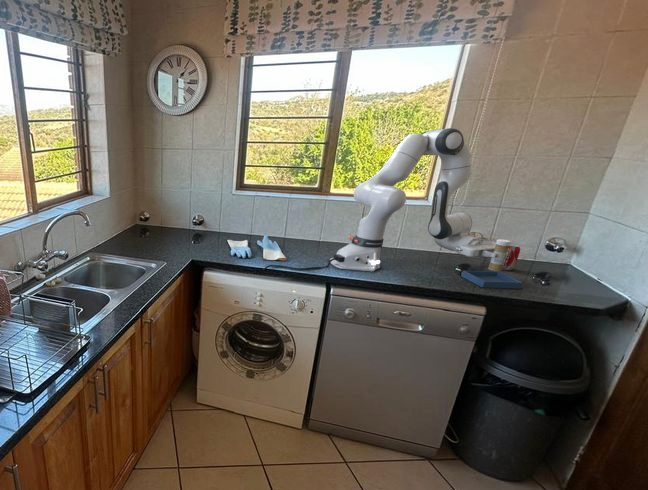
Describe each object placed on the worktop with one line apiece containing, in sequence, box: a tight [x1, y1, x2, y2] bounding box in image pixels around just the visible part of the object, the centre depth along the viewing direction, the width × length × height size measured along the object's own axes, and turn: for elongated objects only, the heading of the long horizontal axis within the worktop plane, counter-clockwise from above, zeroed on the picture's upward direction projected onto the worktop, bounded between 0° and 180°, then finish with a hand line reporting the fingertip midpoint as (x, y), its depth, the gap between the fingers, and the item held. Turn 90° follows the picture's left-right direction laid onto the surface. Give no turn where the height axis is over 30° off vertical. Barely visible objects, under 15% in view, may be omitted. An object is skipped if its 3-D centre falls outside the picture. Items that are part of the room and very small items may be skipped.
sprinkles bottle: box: [487, 238, 512, 272], centre depth 172 cm, size 5×5×13 cm
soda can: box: [501, 242, 521, 271], centre depth 191 cm, size 7×7×12 cm
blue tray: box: [460, 270, 523, 290], centre depth 176 cm, size 16×14×3 cm
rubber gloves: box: [227, 234, 288, 261], centre depth 216 cm, size 27×33×6 cm
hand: (501, 255), depth 171 cm, fingers closed on sprinkles bottle, 4 cm apart
